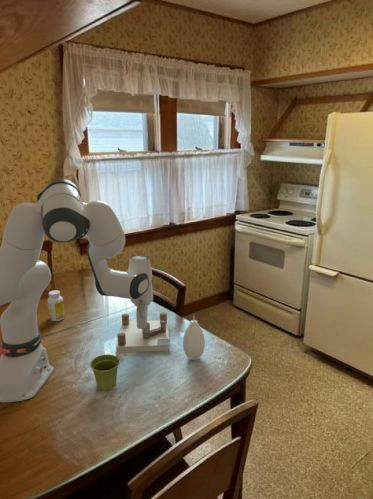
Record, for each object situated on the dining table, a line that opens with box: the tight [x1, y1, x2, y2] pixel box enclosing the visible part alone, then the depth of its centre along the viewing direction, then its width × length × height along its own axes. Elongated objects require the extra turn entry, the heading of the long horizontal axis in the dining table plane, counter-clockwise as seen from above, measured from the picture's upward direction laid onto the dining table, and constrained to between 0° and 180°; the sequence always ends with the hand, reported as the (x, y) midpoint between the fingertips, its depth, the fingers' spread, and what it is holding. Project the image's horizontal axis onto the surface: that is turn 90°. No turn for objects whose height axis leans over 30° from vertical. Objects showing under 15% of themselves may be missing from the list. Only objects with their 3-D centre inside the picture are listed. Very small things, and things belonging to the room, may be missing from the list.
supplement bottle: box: [46, 289, 66, 322], centre depth 164 cm, size 7×7×13 cm
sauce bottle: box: [182, 315, 206, 361], centre depth 133 cm, size 8×8×18 cm
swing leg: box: [142, 321, 166, 339], centre depth 146 cm, size 3×10×6 cm, turn 125°
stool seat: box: [115, 311, 171, 354], centre depth 148 cm, size 20×20×6 cm
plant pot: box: [89, 354, 121, 391], centre depth 120 cm, size 9×9×9 cm
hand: (143, 327), depth 147 cm, fingers closed
